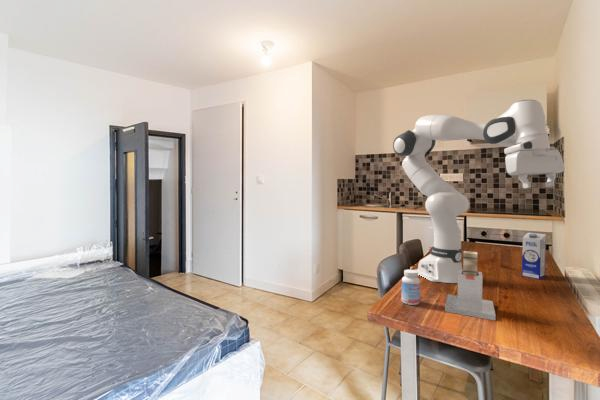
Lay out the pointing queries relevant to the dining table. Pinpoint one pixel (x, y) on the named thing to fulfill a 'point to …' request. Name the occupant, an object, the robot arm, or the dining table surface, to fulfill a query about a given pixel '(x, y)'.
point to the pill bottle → (410, 288)
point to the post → (470, 263)
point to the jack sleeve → (470, 298)
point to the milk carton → (534, 255)
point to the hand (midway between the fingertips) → (538, 187)
